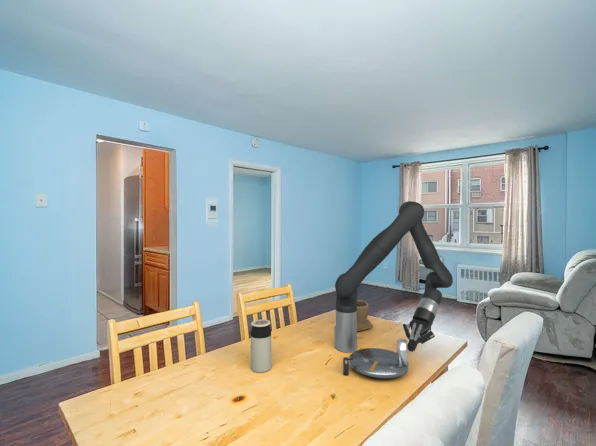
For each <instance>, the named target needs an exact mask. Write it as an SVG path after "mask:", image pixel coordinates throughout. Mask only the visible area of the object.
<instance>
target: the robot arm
mask: <svg viewBox="0 0 596 446" xmlns="http://www.w3.org/2000/svg"><path fill="white" fill-rule="evenodd" d="M424 215H425V208H424V206H423V205H422V204H421V203H420V202H417V201H413V200H412V201H411V200H410V201H404V202H403V203H402V204H400V206H399V209H398V215H397V216H396V218H395V219H394V220H393V221H392V222H391V223H390V224H389V225H388V226H387V227H386V228H385V229H383V230H382V231H380V232H379V233H378V234H377V235H375V236H374V237H373V238H372V240H370V242H368V244H367V245H366V246H365V247H364V248H363V250H362V251H361V253H360V254H359V255H358V257H357V259H356V260H355V261H354V263H353V265H352V266H350V268H349V269H348V270H346V271H345V273H342V274H340V275H339V276H338V277H337V279H336V280H335V284H334V288H335V292H336V300H335V325H334V328H333V331H334V334H333V335H334V339H333V340H334V348H335V349H336V350H337V351H339V352H342V353H353V352H355V351H357V350H358V331H357V300H358V288H359V286H360V285H362V284H361V283H362V282H363V281H364V280H365V278H367V276H369V274H371V273H372V272H373V271H374V270H375V269H376V268H377V267H378V266H379V265H381V263H382V262H383V261H384V260H385V259H386V258H387V257H388V256H389V254H390V253H391V252H392V251H393V250H394V249H395V248H396V246H397V245H398V244H399V243H400V242H401V240H402V239H403V238H404V237H405V235H406V234H408V233H409V234H410V235H411V236H412V237H411V238H412V240H413V241H414V245H415V247H416V249H417V252H418V254H419V257H420V259H421V261H422V264H423V266H424V268H425V269H427V270H431V271H430V272H429V273H428V274H426V276H425V280H424V281H425V283H424V292H423V294H422V296H421V299H420V300H419V302H418V304H417V306H416V308H415V311H414V313H413V316H412V319H411V320H410V321H409V323H407V324H405V323H403V324H402V327H403V330H404V333H405V337H406V338H407V339H408V341H407V349H408V352H411V353H414V352H415V351H416V349H417V346H418V345H419V344H421V345H423V344H425V343H426V342H428V341H430V340H431V339H434V338H435V337H436V336H435V334H434V332H433V331H432V326H433V325H434V321H435V318H436V316H437V314H438V310H439V306H440V304H441V301H442V299H443V293H442V292H441V291H440V290H439V289H449V288H450V287H452V286H453V283H454V279H453V275H452V273H451V272H450V270H449V269H448V268H447V266H446V265H445V263H443V261H442V260H441V258H440V255H439V254H438V251H437V249H436V246H435V245H434V243H433V241H432V239H431V237H430V235H429V234H428V232H427V230H426V229H425V226H424V223H423V218H424ZM410 330H411V331H410Z"/></svg>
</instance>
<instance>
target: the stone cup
mask: <svg viewBox="0 0 596 446" xmlns="http://www.w3.org/2000/svg"><path fill="white" fill-rule="evenodd" d="M369 312H370V305H369V302H367V301H366V300H362V299H357V332H362V331H365V330H368V329H372V328H374V325H373V324H372V322H371V321H370V319H368V316H369V314H370V313H369Z"/></svg>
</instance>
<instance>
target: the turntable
mask: <svg viewBox="0 0 596 446" xmlns="http://www.w3.org/2000/svg"><path fill="white" fill-rule="evenodd" d="M396 345H397V347H396V349H397V350H396V351H397V352H396V351H393V350H390V349H384V348H374V347H370V348H368V347H366V348H361V349H357V350H356V351H354V352H351V354H350V355H349V356H348V358H350V357H352V358H353V360H349V366H350V367H351V368H352V369H353V370H354V371H355V372H357V373H359V374H360V375H364V376H366V377H367V376H368V377H371V378H377V379H396V378H399V377H403V376H404V375H405V374H407V373H408V371H409V361H408V358H409V357H408V356H409V355H408V353H409V350H408V348H407V345H408V340H407V339H402V338H398V339H396Z"/></svg>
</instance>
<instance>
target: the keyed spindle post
mask: <svg viewBox="0 0 596 446" xmlns="http://www.w3.org/2000/svg"><path fill="white" fill-rule="evenodd" d="M349 357H350V356H349ZM349 357H342V363H343V364H342V366H343V367H342V368H343V369H342V371H343V372H342V374H343V376H345V377H348V376H349V374H350V373H349V372H350V371H349V369H350V367H349V366H350V363H349V360H353V358H352V357H350V358H349Z"/></svg>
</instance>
